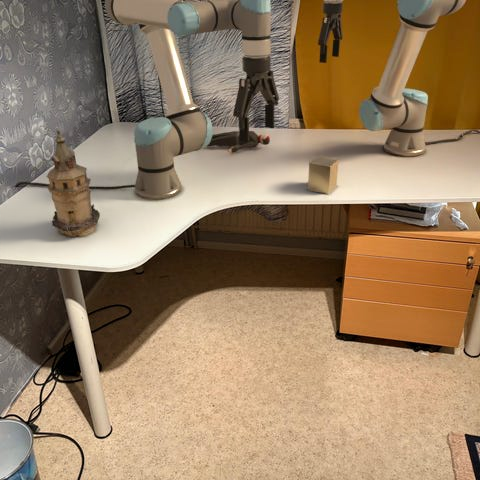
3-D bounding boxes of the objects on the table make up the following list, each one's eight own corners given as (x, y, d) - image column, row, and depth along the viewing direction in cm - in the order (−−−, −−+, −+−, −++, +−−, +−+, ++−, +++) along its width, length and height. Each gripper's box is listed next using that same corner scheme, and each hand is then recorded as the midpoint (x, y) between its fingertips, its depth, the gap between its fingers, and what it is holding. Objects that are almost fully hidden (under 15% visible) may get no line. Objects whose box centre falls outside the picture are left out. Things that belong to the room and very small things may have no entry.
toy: (204, 122, 226) (274, 122, 220) (205, 136, 229) (274, 137, 223) (186, 142, 204) (264, 143, 198) (188, 157, 207) (264, 159, 201)
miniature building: (80, 214, 164) (63, 117, 149) (111, 225, 157) (96, 125, 142) (44, 231, 154) (22, 130, 140) (75, 244, 147) (55, 139, 133)
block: (336, 186, 180) (338, 159, 175) (328, 194, 174) (330, 166, 170) (316, 182, 183) (317, 155, 178) (307, 190, 177) (309, 162, 173)
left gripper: (268, 47, 152) (268, 121, 163) (217, 62, 134) (221, 144, 144) (291, 49, 149) (290, 124, 159) (242, 65, 131) (244, 148, 141)
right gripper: (335, -2, 217) (331, 53, 228) (311, 5, 198) (308, 64, 209) (353, -1, 214) (348, 54, 224) (330, 6, 195) (326, 66, 205)
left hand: (257, 134), depth 152 cm, fingers open, 13 cm apart
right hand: (329, 59), depth 217 cm, fingers open, 13 cm apart
